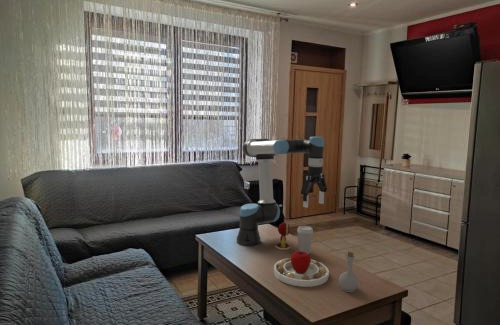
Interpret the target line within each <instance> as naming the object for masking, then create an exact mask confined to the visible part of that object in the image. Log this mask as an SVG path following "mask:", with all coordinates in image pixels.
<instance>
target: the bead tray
mask: <svg viewBox="0 0 500 325" xmlns="http://www.w3.org/2000/svg"><path fill="white" fill-rule="evenodd" d="M273 275H274V276H275V278H276V279H277V280H278V281H279V282H282V283H284V284H286V285H289V286H294V287H300V288H301V287H302V288H312V287H313V288H314V287H318V286H322V285H324V284H325V283H326V282H327V281H328V279H329V276H330V271H329V268H328V267H327V266H326V264H323V262H320V261H318V260H314V259H311V262H310V265H309V268H308V270H307V271H306V272H305V273H297V272H296V271H295V270H294V269H293V266H292V264H291V257H288V258H283V259H279V260H278V261H277V260H276V262H275V264H274V265H273Z"/></svg>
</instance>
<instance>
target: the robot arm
mask: <svg viewBox="0 0 500 325" xmlns="http://www.w3.org/2000/svg"><path fill="white" fill-rule="evenodd" d="M324 147H325V139H324V137H323V136H309V139H303V138H296V139H293V138H292V139H283V138H282V139H275V140H273V139H272V138H251V139H247V140H245V142H243V144H242V152H243V154H244V155H245V156H247V157H249V158H255V161H256V162H257V163H258V185H259V200H258V201H257V203H246V204H243V205H242V206H240V209H239V230H238V232H237V233H238V234H237V236H236V243H237V244H239V245H242V246H248V247H249V246H257V245H259V244H260V243H261V240H262V239H261V236H260V232H259V225H261V224H268V223H269V224H270V223H273V222H276V221H278V220H279V218H280V215H281V209H280V207H279V206H280V205H279V204H278V203H277V202H276V200H275V199H274V189H273V185H274V184H273V183H274V182H273V164H272V163H273V161H274V160H275V159H274V158H275V156H276V155H288V154H290V155H291V154H307V155H308V160H307V161H308V164H307V165H308V166H307V167H308V168H307V172H308V174H309V175H305V176H304V181H303V184H302V187H301V191H300V194H301V195H302V202H303V204H302V207H303V208H306V209H308V208H309V199H310V198H309V197H310V195H309V193H310V191H311V189H312V187H313V186H314V185H315V184H316V185H317V187H318V190H319V191H318V192H319V193H318V204H320V205H324V204H325V202H324V201H325V193H326V192H327V191H328V186H327V182H326V179H325V178H326V177H325V173H323V172H324V171H323V170H324V169H323V165H324V164H323V163H324V150H325V148H324Z"/></svg>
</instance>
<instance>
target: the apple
mask: <svg viewBox="0 0 500 325" xmlns="http://www.w3.org/2000/svg"><path fill="white" fill-rule="evenodd" d="M290 258H291V264H292V266H293V269H294V270H295V271H296V272H297V273H305V272H306V271H307V270H308V268H309V265H310V262H311V260H312V258H311V256H310V254H307V253H306V252H302V251H298V250H297V251H294V252H293V253H292V254H291V256H290Z"/></svg>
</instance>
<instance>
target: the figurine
mask: <svg viewBox="0 0 500 325" xmlns="http://www.w3.org/2000/svg"><path fill="white" fill-rule="evenodd" d="M277 231H278V234H279V235H280V239H279V240H280V242H279V243H277V244H275V246H274V247H275V248H276V249H277V250H284V251H285V250H289V249H291V248H292V247H291V245H289V244H288V243H286V241H287V237H286V236H288V235H289V234H290V225H289V223H287V222H281V223H280V224H279V225H278V226H277Z"/></svg>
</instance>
